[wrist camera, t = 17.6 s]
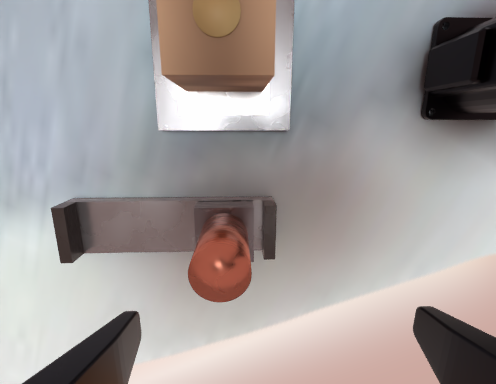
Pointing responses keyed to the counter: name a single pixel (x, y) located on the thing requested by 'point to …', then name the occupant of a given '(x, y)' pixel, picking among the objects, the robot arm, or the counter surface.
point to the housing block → (217, 44)
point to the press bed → (229, 103)
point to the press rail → (145, 225)
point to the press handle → (222, 249)
